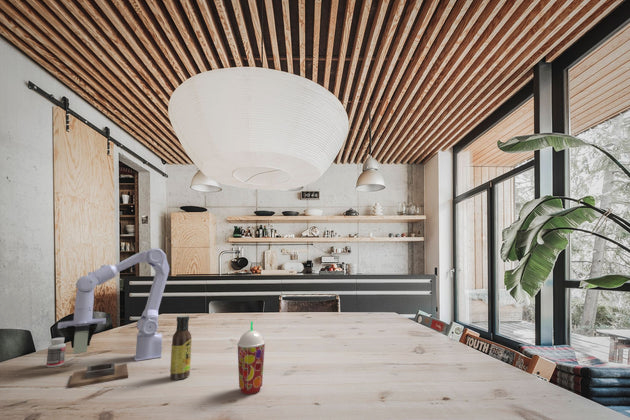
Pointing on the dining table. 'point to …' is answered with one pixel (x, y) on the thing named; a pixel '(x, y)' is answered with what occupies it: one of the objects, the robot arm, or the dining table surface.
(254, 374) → the smoothie
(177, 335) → the sauce bottle
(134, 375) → the dining table surface
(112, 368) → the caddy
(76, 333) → the peg
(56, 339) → the pill bottle
